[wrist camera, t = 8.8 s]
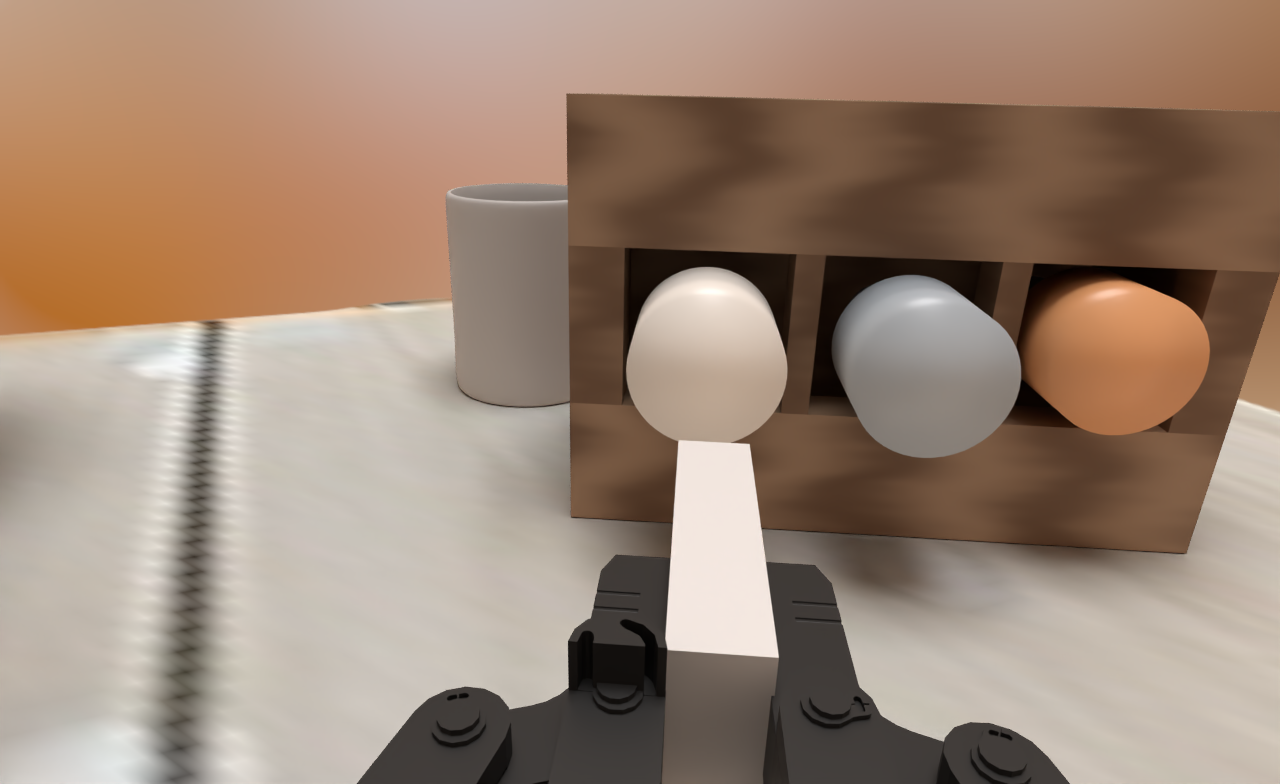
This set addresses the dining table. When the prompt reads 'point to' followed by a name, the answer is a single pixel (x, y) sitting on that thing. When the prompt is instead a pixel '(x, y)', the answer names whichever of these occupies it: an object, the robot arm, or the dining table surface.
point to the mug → (510, 292)
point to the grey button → (924, 366)
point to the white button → (706, 357)
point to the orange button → (1110, 350)
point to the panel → (927, 246)
